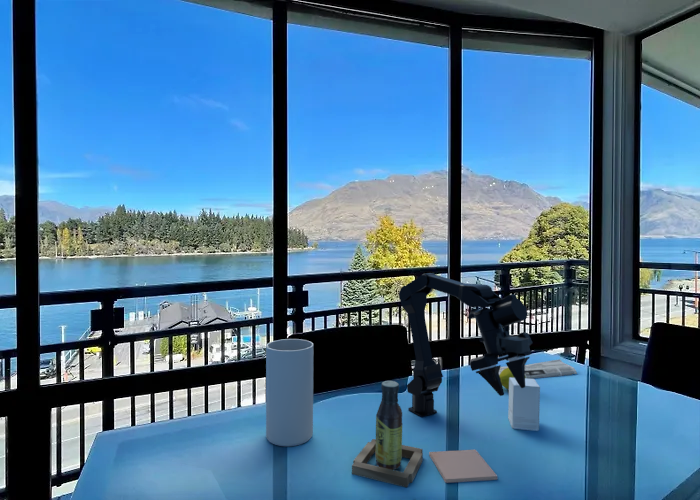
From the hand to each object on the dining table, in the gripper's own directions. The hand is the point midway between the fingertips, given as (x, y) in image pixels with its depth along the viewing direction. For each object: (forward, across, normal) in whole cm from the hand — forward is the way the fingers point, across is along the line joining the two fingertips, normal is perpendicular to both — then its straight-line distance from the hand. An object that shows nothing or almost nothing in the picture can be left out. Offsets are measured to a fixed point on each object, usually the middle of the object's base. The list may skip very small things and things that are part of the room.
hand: (513, 391), depth 108 cm
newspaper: (+1, +63, +36) cm, 73 cm away
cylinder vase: (-3, -41, +43) cm, 60 cm away
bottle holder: (+8, -29, +19) cm, 36 cm away
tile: (+13, -16, +9) cm, 22 cm away
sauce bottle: (+8, -29, +19) cm, 36 cm away
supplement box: (+11, +17, +13) cm, 25 cm away
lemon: (+3, +40, +30) cm, 50 cm away
